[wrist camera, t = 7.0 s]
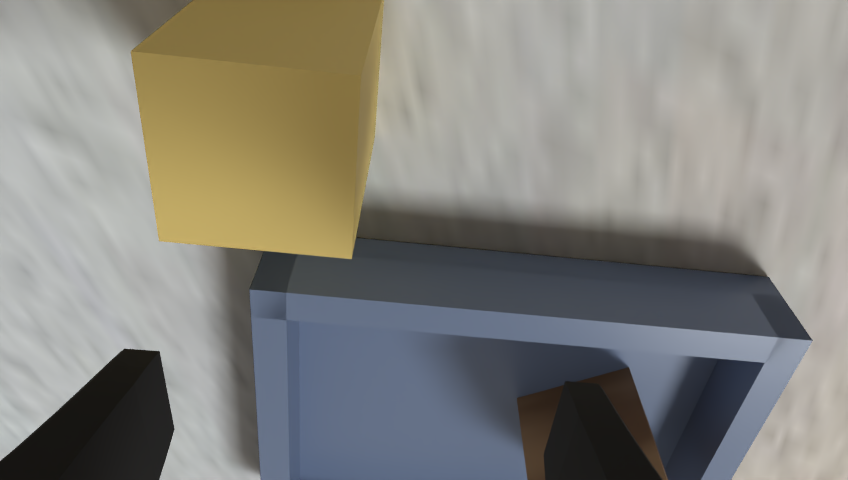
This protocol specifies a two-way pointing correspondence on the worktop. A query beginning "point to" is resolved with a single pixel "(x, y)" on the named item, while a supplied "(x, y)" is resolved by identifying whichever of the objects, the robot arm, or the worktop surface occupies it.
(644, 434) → the walnut block
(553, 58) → the worktop surface
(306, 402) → the slate blue tray
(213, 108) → the mustard block
